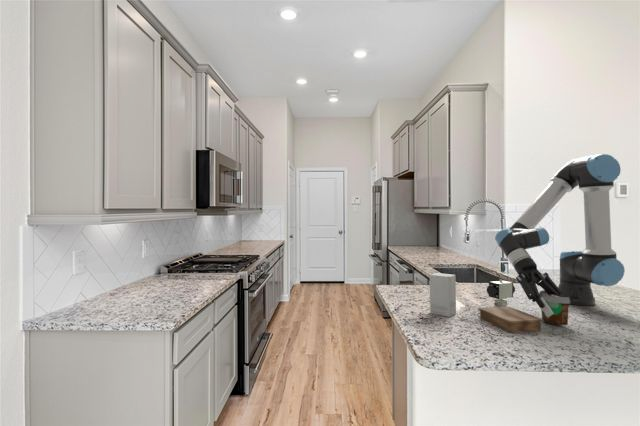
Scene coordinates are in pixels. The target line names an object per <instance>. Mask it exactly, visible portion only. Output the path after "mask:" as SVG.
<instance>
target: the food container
mask: <svg viewBox="0 0 640 426" xmlns="http://www.w3.org/2000/svg"><path fill="white" fill-rule="evenodd" d="M539 295H540V298H541V297H543V298H544V300H545V301H546V303H547V304H548V306H549V307H550V309H551V310H552V311H553V313H554V314H553V315H551V316H550V317H547V316H546V315H545V313H544V312H543V310H542V309H541V308H540V311H541V312H540V313H541V319H543V321H542V322H545V323H547V324H553V325H557V326H558V325H559V326H568V323H569V322H568V321H569V313H568V310H569V306H570V305H571V304H570V299H569V297H560V296H558V295H553V294H549V293H547V292H546V291H545V290H544V289H543V290H540V291H539ZM569 311H570V310H569Z"/></svg>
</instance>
